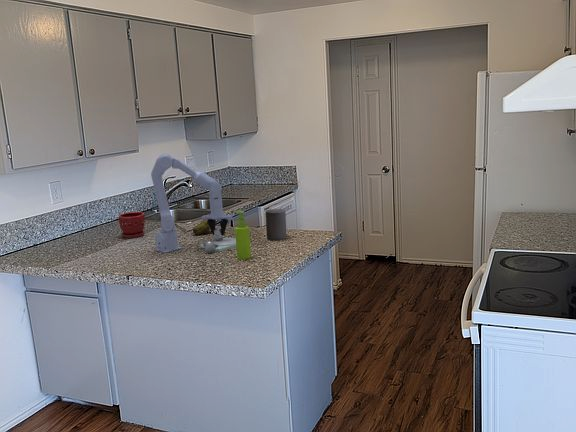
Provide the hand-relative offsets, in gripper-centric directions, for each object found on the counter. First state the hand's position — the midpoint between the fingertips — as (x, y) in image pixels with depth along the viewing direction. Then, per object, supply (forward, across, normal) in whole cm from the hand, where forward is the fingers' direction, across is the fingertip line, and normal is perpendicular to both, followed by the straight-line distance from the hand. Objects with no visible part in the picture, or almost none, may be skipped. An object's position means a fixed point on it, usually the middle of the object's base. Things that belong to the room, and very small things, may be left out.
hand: (218, 234), depth 262 cm
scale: (+4, +3, -4) cm, 6 cm away
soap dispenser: (+5, +21, -22) cm, 31 cm away
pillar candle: (+5, +25, +12) cm, 28 cm away
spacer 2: (+2, 0, 0) cm, 2 cm away
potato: (+5, -18, +22) cm, 28 cm away
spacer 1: (+4, +2, -16) cm, 16 cm away
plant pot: (+5, -55, +13) cm, 57 cm away
